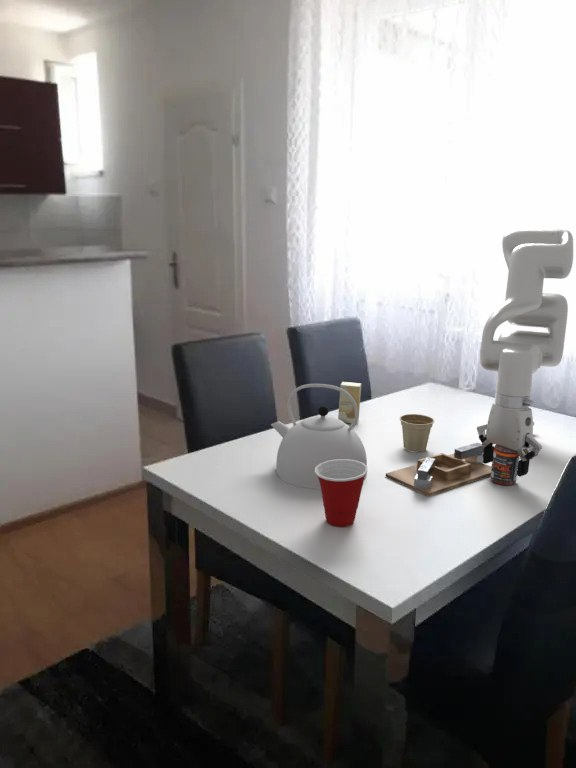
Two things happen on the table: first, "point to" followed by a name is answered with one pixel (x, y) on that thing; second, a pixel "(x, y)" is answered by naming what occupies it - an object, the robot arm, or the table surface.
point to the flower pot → (416, 431)
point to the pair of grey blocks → (468, 453)
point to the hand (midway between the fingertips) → (504, 468)
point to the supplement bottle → (504, 465)
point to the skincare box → (349, 401)
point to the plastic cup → (341, 489)
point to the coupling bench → (442, 473)
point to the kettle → (315, 443)
